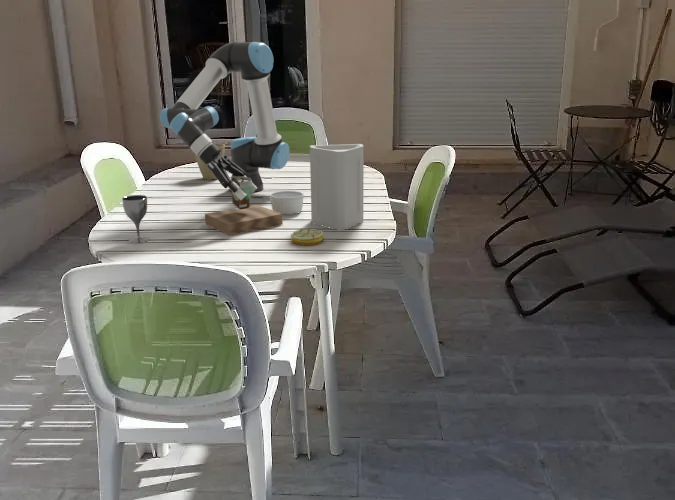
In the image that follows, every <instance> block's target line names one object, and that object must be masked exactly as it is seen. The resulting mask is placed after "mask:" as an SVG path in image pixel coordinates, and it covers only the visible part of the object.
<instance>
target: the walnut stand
mask: <svg viewBox="0 0 675 500" xmlns="http://www.w3.org/2000/svg"><path fill="white" fill-rule="evenodd" d="M204 218H205V219H204V222H205V223H204V224H205V225H206V226H209V227H210V228H212V229H215V230H216V231H219V232H221V233H224V234H225V235H228V236H232V235H238V234H242V233H247V232H253V231H258V230H262V229H267V227H268V228H271V227H272V226H273V227H277V226H276V225H278V226H282V225H283V223H284V222H283V214H281V213H278V212H276V211H273V209H270V208H267V207H264V206H262V205H259V204H253V205H250V207H249V208H246V209H238V208H237V207H235V208H230V209H225V210H218V211H214V212H208V213H204ZM281 224H282V225H281ZM273 227H272V228H273Z"/></svg>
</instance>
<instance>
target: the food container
mask: <svg viewBox="0 0 675 500" xmlns="http://www.w3.org/2000/svg"><path fill="white" fill-rule="evenodd" d="M230 179H231V181H232V182H234V183H235V184H236V185H237V186H238V187H239V188H240V189H241V190H242V191H243V192H244V193H245V194H246V196H245V197H244V198H243V199H242V200H240V199H239V198H238V197H237V196H236V195H235V194H234V193H233V192H232V191H231V199H232V204H233V205H234V206H235V208H238V209H246V208H249V207H250V206H251V205H250V204H251V194H252V193H251V186H253V184H252V180H251V179H250V178H248V177H242V176H232V175H231V177H230Z"/></svg>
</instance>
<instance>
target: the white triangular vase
mask: <svg viewBox="0 0 675 500" xmlns="http://www.w3.org/2000/svg"><path fill="white" fill-rule="evenodd" d="M364 148H365V147H364V144H363V143H354V144H353V143H352V144H351V143H349V144H348V143H347V144H346V143H345V144H313V145H311V144H310V145H309V165H310V166H309V168H310V170H309V171H310V172H309V173H310V174H309V175H310V206H311V207H310V208H311V210H310V211H311V212H310V214H311V215H310V216H311V218H310V219H311V220H312V221H311V223H312V224H313V223H315V224H314V225H316V224H318V225H317V226H320V225H323V226H326V227H325V228H327V227H330V228H329V229H331V228H333V229H332V230H334V229H337V230H336V231H346V230H348V229H350V228H353V227H354V225H355V226H357V225H359V224H361V223H363V222H364V170H365V169H364V165H365V164H364ZM362 221H363V222H362ZM360 222H361V223H360ZM358 223H359V224H358ZM356 224H357V225H356ZM323 226H322V227H323ZM352 226H353V227H352ZM347 228H348V229H347ZM345 229H346V230H345Z"/></svg>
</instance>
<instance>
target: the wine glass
mask: <svg viewBox="0 0 675 500" xmlns="http://www.w3.org/2000/svg"><path fill="white" fill-rule="evenodd" d="M121 201H122V208H123V211H124V214H125V215H126V216H127V218H129V220H131V221H132V222H133V224H134V225H135V229H136V235H137V236H136V237H133V238H130V239H128V241H127V242H128V244H133V245H139V244H145V243H148V242H150V238H149V237H141V234H140V224H141V222H142V220H143V219H144V217H145V216H146V214H147V212H148V211H147V210H148V197H147V196H146V195H144V194H143V195H142V194H131V195H126V196H124V197H122V199H121Z"/></svg>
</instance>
